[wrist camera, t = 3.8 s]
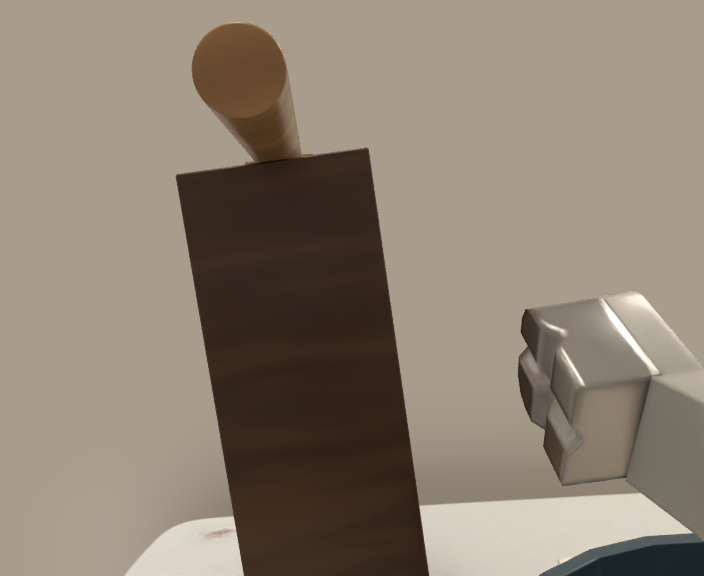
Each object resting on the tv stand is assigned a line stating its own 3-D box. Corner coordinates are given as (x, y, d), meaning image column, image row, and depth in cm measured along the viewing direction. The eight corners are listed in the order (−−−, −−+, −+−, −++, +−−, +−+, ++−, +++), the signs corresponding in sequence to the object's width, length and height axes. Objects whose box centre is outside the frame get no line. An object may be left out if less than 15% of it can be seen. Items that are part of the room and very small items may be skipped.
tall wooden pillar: (447, 701, 29) (368, 146, 26) (270, 733, 28) (174, 174, 26) (408, 563, 41) (351, 173, 38) (283, 585, 40) (219, 192, 38)
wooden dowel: (316, 108, 16) (302, 11, 16) (176, 127, 16) (159, 29, 16) (315, 179, 39) (309, 139, 38) (256, 187, 39) (250, 147, 38)
